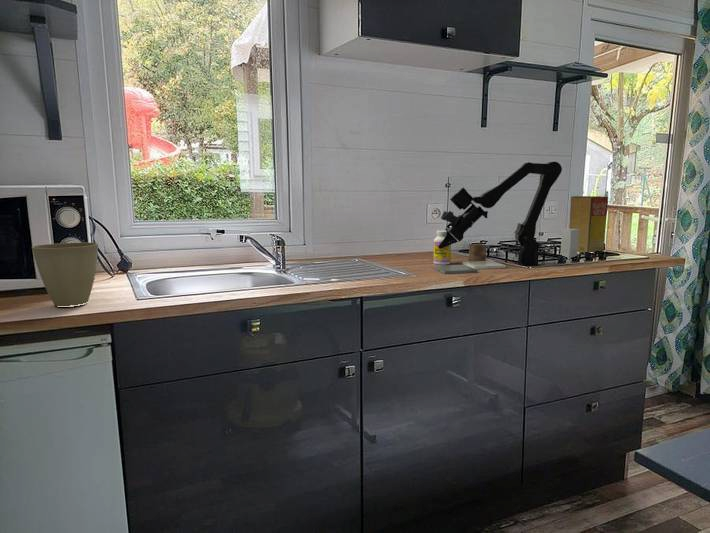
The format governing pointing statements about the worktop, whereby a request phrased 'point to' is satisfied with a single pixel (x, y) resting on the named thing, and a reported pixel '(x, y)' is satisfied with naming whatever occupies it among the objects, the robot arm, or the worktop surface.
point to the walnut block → (477, 252)
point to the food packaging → (589, 221)
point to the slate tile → (454, 269)
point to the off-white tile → (483, 264)
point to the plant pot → (67, 270)
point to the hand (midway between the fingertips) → (438, 246)
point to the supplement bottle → (441, 250)
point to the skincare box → (569, 243)
